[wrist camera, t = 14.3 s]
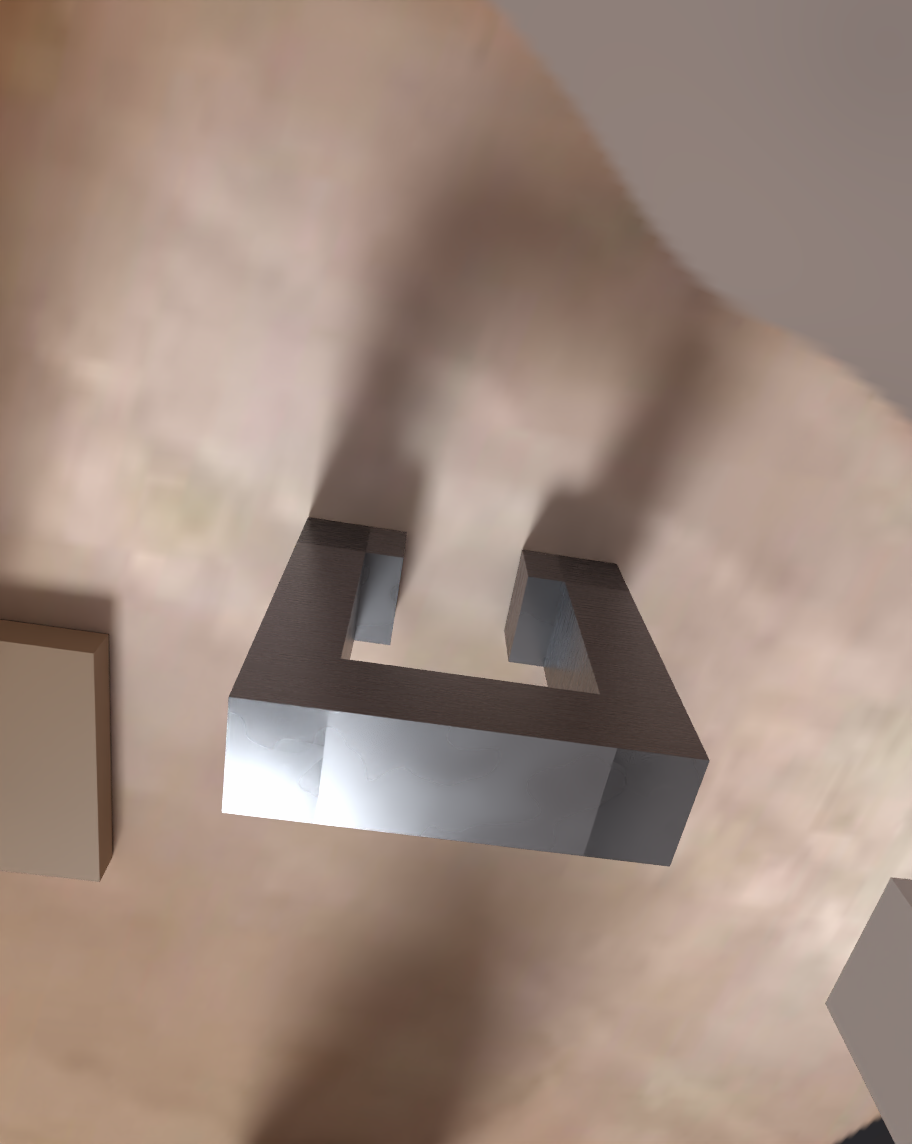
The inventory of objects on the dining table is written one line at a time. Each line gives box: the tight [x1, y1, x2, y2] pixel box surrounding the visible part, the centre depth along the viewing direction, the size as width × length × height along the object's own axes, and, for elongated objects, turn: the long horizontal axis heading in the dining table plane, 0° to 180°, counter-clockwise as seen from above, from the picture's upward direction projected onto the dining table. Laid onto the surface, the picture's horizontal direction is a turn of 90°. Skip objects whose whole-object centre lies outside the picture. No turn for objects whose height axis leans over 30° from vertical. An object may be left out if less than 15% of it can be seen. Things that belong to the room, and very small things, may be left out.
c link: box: [222, 517, 710, 866], centre depth 17 cm, size 8×2×8 cm, turn 80°
